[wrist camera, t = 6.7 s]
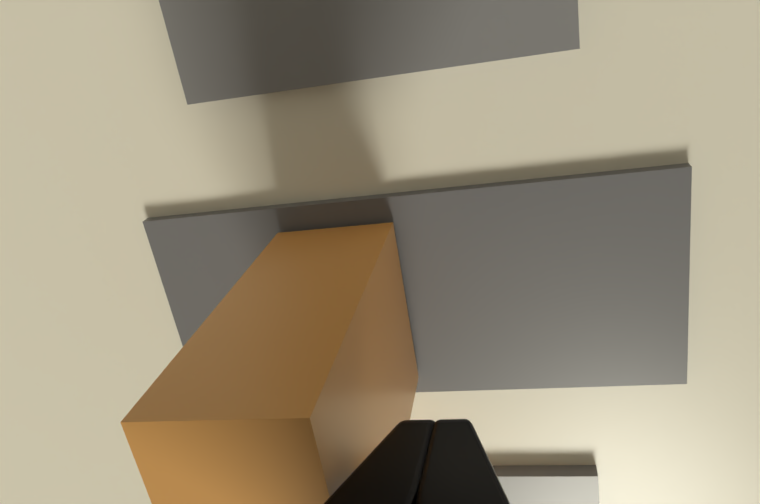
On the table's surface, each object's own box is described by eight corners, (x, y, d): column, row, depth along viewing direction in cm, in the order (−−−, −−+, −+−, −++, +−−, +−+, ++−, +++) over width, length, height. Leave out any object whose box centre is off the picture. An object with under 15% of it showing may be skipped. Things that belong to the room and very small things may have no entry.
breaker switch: (392, 222, 11) (310, 418, 6) (418, 377, 12) (364, 638, 7) (277, 232, 11) (120, 422, 6) (313, 381, 12) (200, 629, 8)
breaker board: (1148, -307, 9) (1467, -439, 6) (964, 481, 14) (1084, 618, 11) (-125, -28, 14) (-297, -24, 11) (91, 481, 19) (15, 577, 16)
